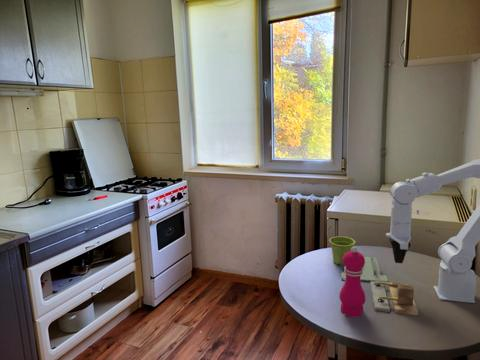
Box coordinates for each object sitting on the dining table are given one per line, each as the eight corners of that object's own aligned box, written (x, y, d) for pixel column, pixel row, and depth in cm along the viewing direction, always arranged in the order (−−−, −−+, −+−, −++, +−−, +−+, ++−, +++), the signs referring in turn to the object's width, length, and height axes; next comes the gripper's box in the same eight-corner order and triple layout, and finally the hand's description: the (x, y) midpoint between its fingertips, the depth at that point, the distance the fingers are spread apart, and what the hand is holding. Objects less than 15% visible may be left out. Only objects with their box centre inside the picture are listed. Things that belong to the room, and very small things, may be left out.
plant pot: (359, 265, 131) (360, 243, 129) (336, 268, 129) (336, 246, 127) (346, 255, 140) (347, 235, 138) (324, 258, 138) (325, 237, 136)
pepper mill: (365, 319, 98) (368, 253, 94) (339, 316, 100) (340, 250, 96) (364, 306, 104) (366, 243, 100) (339, 303, 106) (340, 241, 102)
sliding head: (411, 301, 104) (412, 285, 103) (412, 305, 101) (414, 289, 100) (378, 297, 106) (379, 282, 105) (379, 301, 104) (380, 286, 103)
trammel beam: (407, 287, 114) (407, 282, 114) (418, 315, 99) (418, 308, 99) (374, 284, 117) (375, 278, 116) (380, 310, 102) (380, 304, 101)
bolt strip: (382, 285, 116) (383, 282, 116) (389, 311, 101) (389, 308, 101) (370, 284, 117) (370, 281, 117) (374, 310, 102) (375, 306, 102)
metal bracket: (339, 250, 131) (382, 252, 128) (339, 262, 134) (380, 264, 130) (342, 277, 119) (389, 280, 115) (341, 289, 121) (387, 293, 118)
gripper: (383, 213, 115) (381, 252, 118) (390, 228, 102) (388, 271, 104) (406, 214, 114) (404, 253, 116) (417, 229, 100) (414, 273, 102)
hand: (398, 262), depth 110 cm, fingers closed
